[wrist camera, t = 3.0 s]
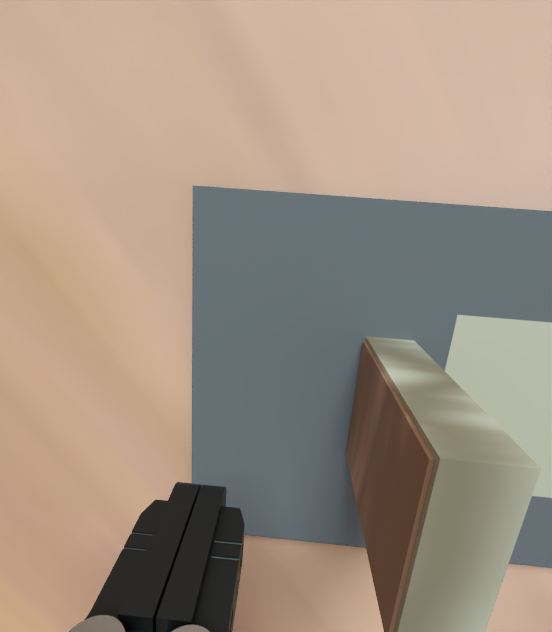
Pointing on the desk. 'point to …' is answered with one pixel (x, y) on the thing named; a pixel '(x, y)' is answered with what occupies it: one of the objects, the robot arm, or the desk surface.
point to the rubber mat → (357, 342)
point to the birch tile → (432, 491)
